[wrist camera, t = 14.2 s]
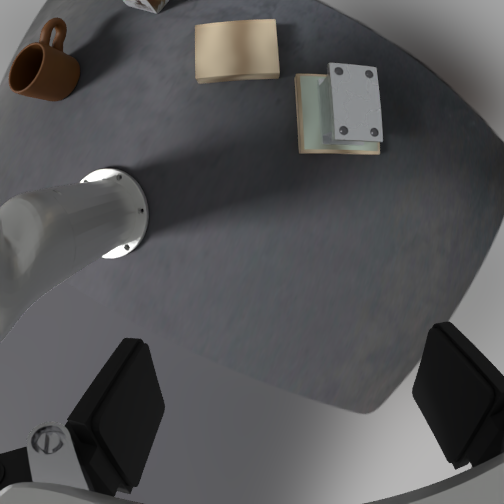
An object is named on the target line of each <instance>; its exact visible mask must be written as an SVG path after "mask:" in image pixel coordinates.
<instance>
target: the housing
mask: <svg viewBox="0 0 504 504" xmlns="http://www.w3.org/2000/svg"><path fill="white" fill-rule="evenodd" d="M317 91H318V104H319V119H320V136H321V145H352V146H363V145H364V142H377V143H379V142H383V132H382V117H381V105H380V94H379V85H378V76H377V69H376V67H370V66H361V65H352V64H341V63H329V64H328V65H327V76H326V78H325V79H318V80H317Z"/></svg>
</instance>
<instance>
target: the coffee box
mask: <svg viewBox="0 0 504 504" xmlns="http://www.w3.org/2000/svg"><path fill="white" fill-rule="evenodd" d="M123 1H124V2H125V3H126V4H127V5H128V6H130V7H134V8H138V9H141V10H145V11H149V12H152V13H156V14H158V13H159V12H160V11H161V10H162V8H163V7H164V6H165V5H166V4H167V2H168V1H169V0H123Z"/></svg>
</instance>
